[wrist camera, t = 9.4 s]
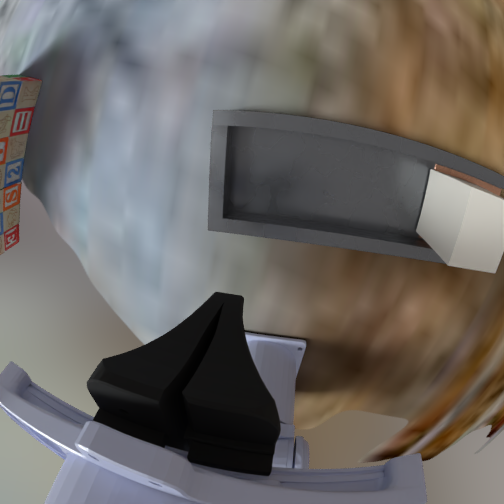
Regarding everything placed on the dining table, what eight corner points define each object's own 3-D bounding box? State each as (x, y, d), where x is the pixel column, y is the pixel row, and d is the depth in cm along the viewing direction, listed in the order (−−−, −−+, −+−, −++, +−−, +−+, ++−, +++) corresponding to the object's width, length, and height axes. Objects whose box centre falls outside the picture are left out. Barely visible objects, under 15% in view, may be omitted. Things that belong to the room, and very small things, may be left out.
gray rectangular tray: (475, 258, 19) (488, 270, 17) (216, 219, 21) (208, 230, 19) (499, 175, 15) (515, 182, 13) (222, 111, 17) (213, 109, 15)
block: (460, 240, 18) (495, 273, 13) (415, 231, 18) (447, 265, 13) (476, 184, 15) (517, 206, 10) (430, 168, 16) (471, 186, 11)
